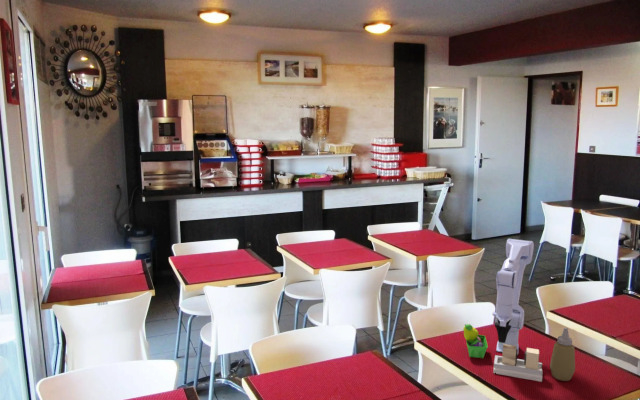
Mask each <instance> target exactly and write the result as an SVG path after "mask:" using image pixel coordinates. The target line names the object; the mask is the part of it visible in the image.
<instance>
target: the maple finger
mask: <svg viewBox="0 0 640 400" xmlns="http://www.w3.org/2000/svg"><path fill="white" fill-rule="evenodd" d="M517 352H518V353H519V349H516V346H514V345H508V344H503V352H502V355H501V356H502V364H506V365H512V366H515V363H517V359H518V355H517Z"/></svg>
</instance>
